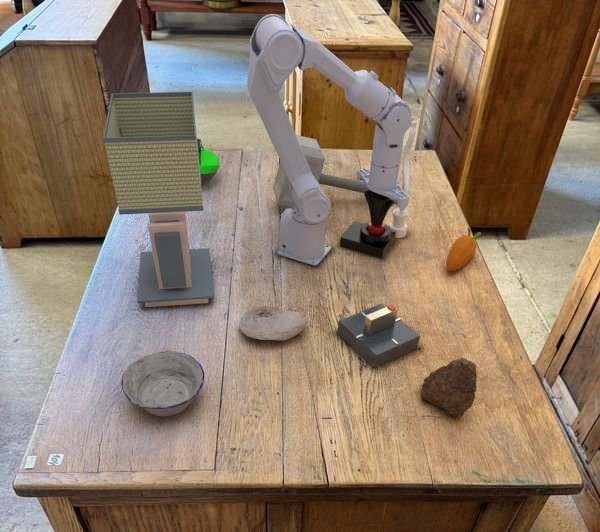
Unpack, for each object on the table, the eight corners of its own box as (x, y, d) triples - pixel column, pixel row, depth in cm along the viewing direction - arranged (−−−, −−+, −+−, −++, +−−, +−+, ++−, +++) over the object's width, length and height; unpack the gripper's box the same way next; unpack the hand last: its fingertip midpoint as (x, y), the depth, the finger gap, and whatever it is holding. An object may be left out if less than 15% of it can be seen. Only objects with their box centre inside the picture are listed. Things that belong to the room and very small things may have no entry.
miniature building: (175, 170, 149) (169, 127, 141) (220, 169, 150) (217, 126, 142) (173, 192, 141) (167, 148, 133) (221, 191, 142) (218, 147, 134)
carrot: (466, 268, 116) (488, 234, 125) (446, 254, 116) (470, 220, 125) (452, 284, 120) (475, 249, 129) (433, 270, 120) (457, 236, 129)
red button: (364, 232, 124) (365, 225, 123) (371, 225, 126) (372, 218, 125) (380, 237, 123) (381, 230, 122) (386, 229, 125) (387, 222, 124)
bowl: (220, 409, 92) (217, 388, 89) (143, 439, 88) (137, 419, 84) (188, 361, 100) (185, 340, 96) (116, 387, 95) (110, 365, 91)
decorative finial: (407, 238, 130) (429, 124, 112) (390, 238, 129) (408, 124, 111) (402, 225, 134) (422, 112, 116) (385, 225, 133) (402, 112, 115)
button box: (339, 246, 127) (341, 229, 124) (353, 229, 132) (355, 213, 129) (381, 258, 124) (384, 242, 121) (394, 241, 129) (397, 225, 126)
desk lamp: (214, 309, 110) (197, 135, 86) (139, 314, 108) (100, 138, 84) (210, 256, 122) (194, 91, 99) (142, 260, 121) (109, 93, 97)
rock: (413, 388, 97) (436, 343, 90) (446, 389, 99) (471, 344, 92) (434, 430, 90) (461, 384, 83) (468, 430, 92) (497, 385, 85)
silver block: (368, 336, 101) (371, 319, 98) (363, 331, 102) (365, 314, 99) (394, 324, 104) (397, 308, 101) (389, 320, 104) (392, 303, 102)
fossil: (229, 322, 101) (251, 293, 108) (231, 342, 104) (252, 312, 111) (294, 335, 98) (312, 304, 105) (294, 354, 101) (312, 323, 108)
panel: (336, 333, 106) (338, 320, 104) (379, 315, 110) (381, 302, 108) (373, 368, 100) (375, 355, 98) (417, 348, 104) (420, 334, 102)
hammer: (406, 158, 138) (287, 130, 129) (416, 173, 133) (293, 145, 123) (383, 215, 148) (271, 193, 139) (391, 230, 143) (275, 209, 134)
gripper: (425, 171, 111) (413, 234, 121) (378, 144, 119) (370, 205, 129) (397, 180, 108) (387, 243, 118) (351, 151, 116) (345, 213, 126)
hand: (376, 224), depth 124 cm, fingers closed, pressing on red button
